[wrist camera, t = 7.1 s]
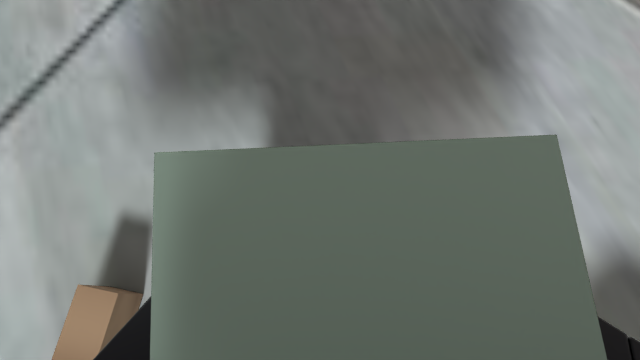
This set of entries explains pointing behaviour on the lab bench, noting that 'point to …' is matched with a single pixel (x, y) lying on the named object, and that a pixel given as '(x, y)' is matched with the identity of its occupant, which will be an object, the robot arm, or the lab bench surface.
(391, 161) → the sage block
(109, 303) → the slot rack
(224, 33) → the lab bench surface
